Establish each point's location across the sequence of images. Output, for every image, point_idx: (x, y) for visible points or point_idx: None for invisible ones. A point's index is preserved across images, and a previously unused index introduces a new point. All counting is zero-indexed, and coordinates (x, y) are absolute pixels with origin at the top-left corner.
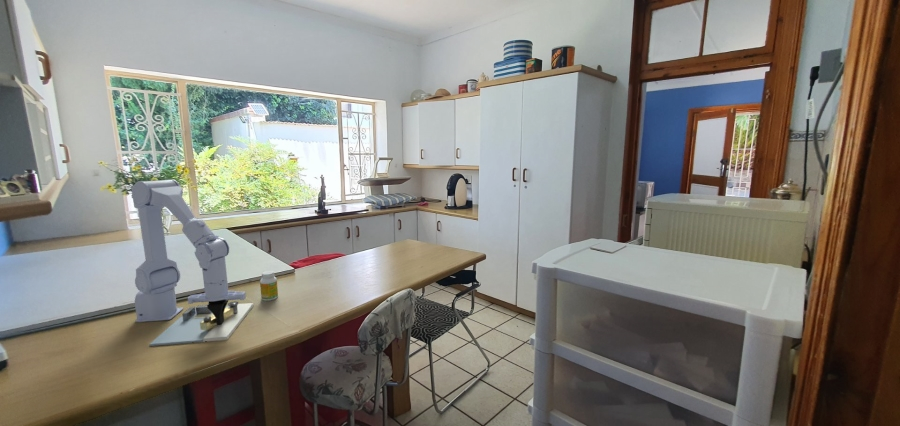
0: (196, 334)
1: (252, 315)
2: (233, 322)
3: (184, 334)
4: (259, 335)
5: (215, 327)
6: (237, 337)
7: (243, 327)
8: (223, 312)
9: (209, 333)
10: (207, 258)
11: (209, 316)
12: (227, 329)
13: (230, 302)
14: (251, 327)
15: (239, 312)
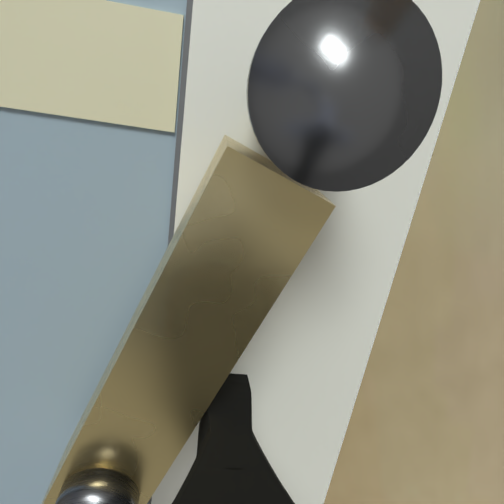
0: (56, 455)
1: (482, 146)
2: (326, 347)
3: None
4: (497, 498)
5: None
6: (366, 496)
7: (399, 378)
8: (258, 457)
9: (168, 486)
10: None
11: (99, 501)
12: (296, 454)
13: (283, 22)
14: (457, 391)
15: None
